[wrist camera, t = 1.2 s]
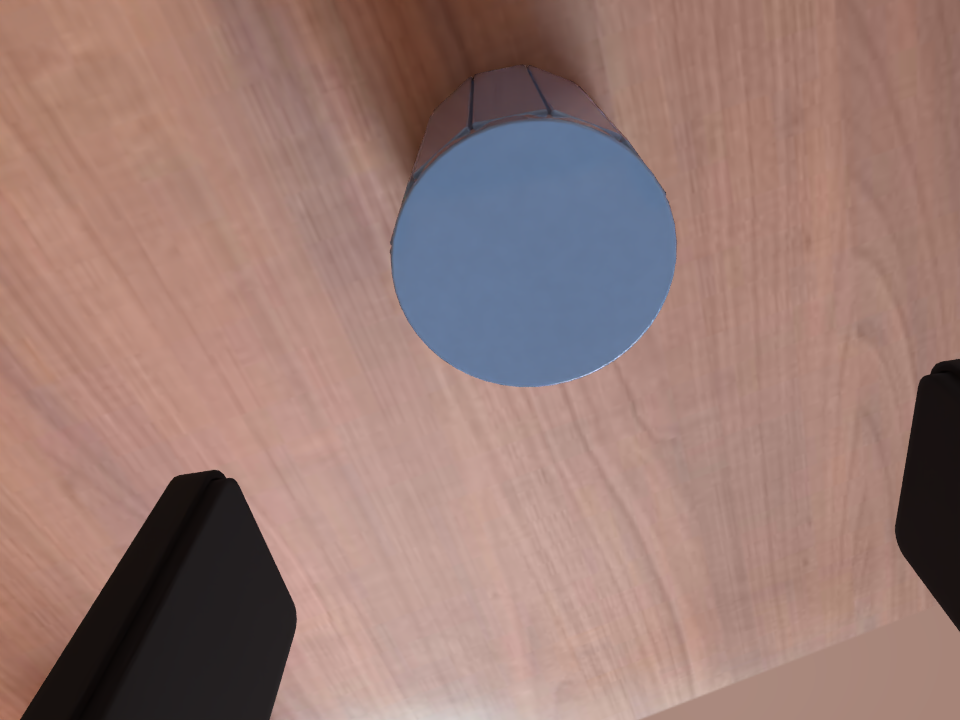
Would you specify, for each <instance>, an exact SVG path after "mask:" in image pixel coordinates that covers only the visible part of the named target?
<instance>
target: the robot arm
mask: <svg viewBox="0 0 960 720" xmlns="http://www.w3.org/2000/svg"><path fill="white" fill-rule="evenodd" d="M895 534H896V540H897V543H898V546H899V548H900V550H901V552H902V554H903V555H904V557H905V558H906V560H907V561H908V562H909V564H910V565H911V566H912V568H913V569H914V570H915V572H916V573H917V575H918V576H919V577H920V579H921V580H922V581H923V583H924V584H925V585H926V587H927V588H928V589H929V591H930V592H931V593H932V595H933V596H934V598H935V599H936V600H937V602H938V603H939V604H940V606H941V607H942V608H943V610H944V611H945V612H946V614H947V615H948V616H949V618H950V619H951V620H952V622H953V623H954V625H955V626H956V627H957V629H958V630H959V631H960V359H956V360H949V361H943V362H940V363H938V364H936V365H935V366H934V367H933V369H932V371H931V374H930V375H926V376H924V377H923V378H922V379H921V380H920V382H919V386H918V391H917V397H916V403H915V409H914V415H913V421H912V427H911V433H910V439H909V446H908V452H907V458H906V464H905V470H904V476H903V482H902V488H901V494H900V500H899V506H898V512H897V518H896V525H895ZM296 622H297V617H296V609H295V605H294V602H293V600H292V598H291V596H290V594H289V592H288V590H287V587H286V585H285V583H284V581H283V579H282V577H281V575H280V572H279V570H278V568H277V566H276V564H275V562H274V560H273V557H272V555H271V553H270V551H269V549H268V547H267V545H266V542H265V540H264V538H263V536H262V534H261V532H260V530H259V527H258V525H257V523H256V521H255V519H254V517H253V515H252V512H251V510H250V508H249V506H248V504H247V502H246V500H245V497H244V495H243V493H242V491H241V489H240V487H239V485H238V483H237V482H236V481H235V480H234V479H233V478H226V477H225V476H224V474H223V473H221V472H220V471H218V470H211V471H204V472H197V473H191V474H184V475H179V476H176V477H174V478H173V479H172V481H171V482H170V483H169V485H168V486H167V488H166V489H165V491H164V493H163V494H162V496H161V497H160V499H159V500H158V502H157V504H156V505H155V507H154V508H153V510H152V512H151V513H150V515H149V516H148V518H147V519H146V521H145V523H144V524H143V526H142V527H141V529H140V531H139V532H138V534H137V535H136V537H135V538H134V540H133V542H132V543H131V545H130V546H129V548H128V550H127V551H126V553H125V554H124V556H123V557H122V559H121V561H120V562H119V564H118V565H117V567H116V569H115V570H114V572H113V573H112V575H111V576H110V578H109V580H108V581H107V583H106V584H105V586H104V588H103V589H102V591H101V592H100V594H99V595H98V597H97V599H96V600H95V602H94V603H93V605H92V607H91V608H90V610H89V611H88V613H87V614H86V616H85V618H84V619H83V621H82V622H81V624H80V626H79V627H78V629H77V630H76V632H75V634H74V635H73V637H72V638H71V640H70V641H69V643H68V645H67V646H66V648H65V649H64V651H63V653H62V654H61V656H60V657H59V659H58V660H57V662H56V664H55V665H54V667H53V668H52V670H51V672H50V673H49V675H48V676H47V678H46V679H45V681H44V683H43V684H42V686H41V687H40V689H39V691H38V692H37V694H36V695H35V697H34V698H33V700H32V702H31V703H30V705H29V706H28V708H27V710H26V711H25V713H24V714H23V716H22V717H21V719H20V720H269V719H270V716H271V713H272V709H273V706H274V702H275V699H276V695H277V692H278V689H279V685H280V682H281V678H282V675H283V671H284V668H285V665H286V661H287V658H288V654H289V651H290V647H291V644H292V640H293V637H294V634H295V629H296Z"/></svg>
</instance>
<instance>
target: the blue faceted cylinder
mask: <svg viewBox="0 0 960 720" xmlns="http://www.w3.org/2000/svg"><path fill="white" fill-rule="evenodd" d="M390 245H392V246H391V249H390V254H391V269H392V278H393V283H394V288H395V292H396V295H397V298H398V300H399V303H400V306H401V308H402V310H403V312H404V314H405V316H406V318H407V320H408V322H409V323H410V325H411V326H412V328H413V329H414V331H415V332H416V334H417V335H418V336H419V337H420V338H421V340H422V341H423V342H424V343H425V344H426V345H427V346H428V347H429V348H430V349H431V350H432V351H433V352H434V353H436V354H437V355H438V356H439V357H440V358H441V359H443V360H444V361H446V362H447V363H449V364H450V365H452V366H453V367H455V368H457V369H459V370H461V371H463V372H465V373H467V374H469V375H471V376H473V377H476V378H479V379H482V380H484V381H488V382H492V383H496V384H501V385H508V386H516V387H539V386H549V385H555V384H560V383H565V382H569V381H572V380H575V379H578V378H581V377H584V376H586V375H588V374H591V373H593V372H595V371H597V370H599V369H601V368H603V367H604V366H606V365H608V364H609V363H611V362H613V361H614V360H616V359H617V358H618V357H620V356H621V355H622V354H624V353H625V352H626V351H627V350H629V349H630V348H631V347H632V346H633V345H634V344H635V343H636V342H637V341H638V340H639V339H640V338H641V337H642V335H643V334H644V333H645V332H646V331H647V329H648V328H649V327H650V326H651V324H652V323H653V321H654V319H655V318H656V316H657V315H658V313H659V312H660V310H661V308H662V306H663V303H664V301H665V299H666V297H667V295H668V292H669V289H670V286H671V282H672V279H673V275H674V270H675V264H676V250H677V239H676V230H675V223H674V219H673V215H672V211H671V208H670V205H669V201H668V200H667V198H666V192H665V191H664V189H663V188H662V187H661V185H660V184H659V182H658V181H657V179H656V177H655V176H654V174H653V173H652V172H651V170H650V169H649V168H648V167H647V166H646V164H645V163H644V162H643V160H642V159H641V157H640V156H639V155H638V153H637V152H636V151H635V149H634V148H633V146H632V145H631V144H630V142H629V141H628V140H627V139H626V137H625V136H624V135H623V134H622V133H621V132H620V131H619V130H618V129H617V127H616V126H615V125H614V124H613V123H612V122H611V121H610V120H609V119H608V117H607V116H606V115H605V114H604V113H603V112H602V111H601V110H600V109H599V107H598V106H597V105H596V104H595V103H594V102H593V101H592V100H591V98H590V97H589V96H588V95H587V94H586V93H585V92H584V91H583V90H582V88H581V87H580V86H577V85H576V84H575V83H574V82H572V81H570V80H567V79H565V78H562V77H560V76H557V75H554V74H552V73H549V72H547V71H544V70H542V69H539V68H536V67H534V66H531V65H529V66H528V67H527V69H526V67H525V65H523V64H522V65H517V66H513V67H508V68H503V69H498V70H493V71H488V72H483V73H478V74H475V75H474V80H473V78H472V77H469V78H468V79H467V80H466V81H465V82H464V83H463V84H462V85H460V86H459V87H458V88H457V89H456V90H455V91H454V92H453V93H452V94H451V95H450V96H449V97H448V98H446V99H445V100H444V101H443V102H442V103H441V104H440V105H439V106H438V107H437V108H436V109H435V110H434V111H433V114H432V115H431V116H430V119H429V122H428V125H427V128H426V131H425V134H424V137H423V140H422V142H421V145H420V148H419V151H418V154H417V157H416V160H415V163H414V166H413V169H412V172H411V175H410V178H409V181H408V184H407V187H406V191H405V194H404V197H403V201H402V204H401V207H400V211H399V214H398V217H397V220H396V224H395V228H394V231H393V234H392V238H391V241H390Z"/></svg>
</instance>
